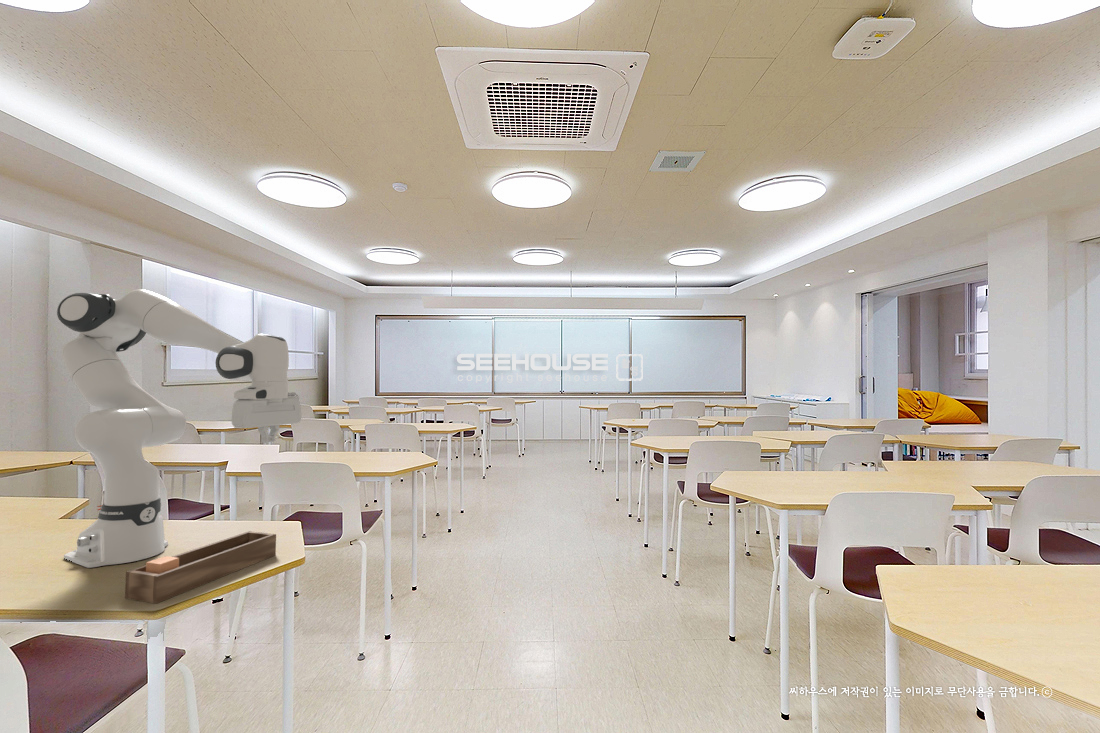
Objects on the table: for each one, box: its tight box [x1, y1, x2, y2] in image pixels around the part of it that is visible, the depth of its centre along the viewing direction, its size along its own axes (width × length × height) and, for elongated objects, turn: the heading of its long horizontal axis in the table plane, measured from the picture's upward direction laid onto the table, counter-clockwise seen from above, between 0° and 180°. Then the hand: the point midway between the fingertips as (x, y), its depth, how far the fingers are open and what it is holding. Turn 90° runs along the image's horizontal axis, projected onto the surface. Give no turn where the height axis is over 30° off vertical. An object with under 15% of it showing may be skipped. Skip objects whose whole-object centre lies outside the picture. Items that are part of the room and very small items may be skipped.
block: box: [145, 555, 179, 574], centre depth 106 cm, size 4×4×4 cm
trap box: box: [124, 530, 277, 604], centre depth 116 cm, size 9×30×6 cm, turn 164°
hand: (268, 442), depth 135 cm, fingers closed
